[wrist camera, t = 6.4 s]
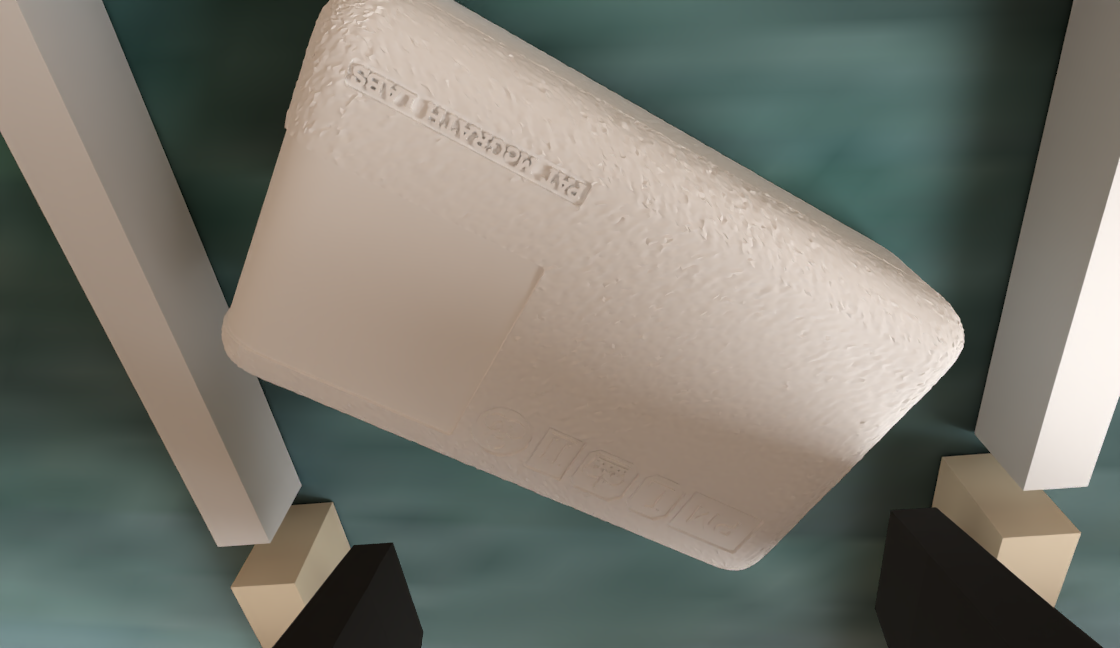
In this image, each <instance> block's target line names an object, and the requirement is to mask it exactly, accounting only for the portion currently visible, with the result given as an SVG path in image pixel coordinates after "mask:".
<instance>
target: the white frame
mask: <svg viewBox="0 0 1120 648" xmlns="http://www.w3.org/2000/svg"><path fill="white" fill-rule="evenodd" d="M0 132H1V134H2V135H3V137H4V139H5V141H6V143H7V145H8V147H9V149H10V151H11V153H12V155H13V156H14V158H15V160H16V162H17V164H18V166H19V168H20V170H21V172H22V174H23V176H24V177H25V179H26V181H27V183H28V185H29V187H30V189H31V191H32V193H33V195H34V197H35V198H36V200H37V202H38V204H39V206H40V208H41V210H42V212H43V214H44V216H45V218H46V219H47V221H48V223H49V225H50V227H51V229H52V231H53V233H54V235H55V237H56V239H57V240H58V242H59V244H60V246H61V248H62V250H63V252H64V254H65V256H66V258H67V260H68V261H69V263H70V265H71V267H72V269H73V271H74V273H75V275H76V277H77V279H78V281H79V282H80V284H81V286H82V288H83V290H84V292H85V294H86V296H87V298H88V300H89V302H90V303H91V305H92V307H93V309H94V311H95V313H96V315H97V317H98V319H99V321H100V323H101V324H102V326H103V328H104V330H105V332H106V334H107V336H108V338H109V340H110V342H111V344H112V345H113V347H114V349H115V351H116V353H117V355H118V357H119V359H120V361H121V363H122V365H123V366H124V368H125V370H126V372H127V374H128V376H129V378H130V380H131V382H132V384H133V386H134V387H135V389H136V391H137V393H138V395H139V397H140V399H141V401H142V403H143V405H144V407H145V408H146V410H147V412H148V414H149V416H150V418H151V420H152V422H153V424H154V426H155V428H156V429H157V431H158V433H159V435H160V437H161V439H162V441H163V443H164V445H165V447H166V448H167V450H168V452H169V454H170V456H171V458H172V460H173V462H174V464H175V466H176V468H177V469H178V471H179V473H180V475H181V477H182V479H183V481H184V483H185V485H186V487H187V489H188V490H189V492H190V494H191V496H192V498H193V500H194V502H195V504H196V506H197V508H198V510H199V511H200V513H201V515H202V517H203V519H204V521H205V523H206V525H207V527H208V529H209V531H210V532H211V534H212V536H213V538H214V540H215V542H216V544H217V546H218V547H223V546H238V545H252V544H267V543H271V541H272V539H273V537H274V536H275V534H276V532H277V530H278V528H279V526H280V525H281V523H282V521H283V519H284V517H285V515H286V514H287V512H288V510H289V508H290V506H291V504H292V502H293V501H294V499H295V497H296V495H297V493H298V491H299V490H300V488H301V486H302V485H301V483H300V480H299V478H298V475H297V473H296V470H295V468H294V466H293V463H292V461H291V458H290V456H289V453H288V451H287V449H286V446H285V444H284V441H283V439H282V436H281V434H280V432H279V429H278V427H277V424H276V422H275V419H274V417H273V415H272V412H271V410H270V407H269V405H268V402H267V400H266V398H265V395H264V393H263V390H262V388H261V385H260V383H259V381H258V378H257V376H254V375H252V374H250V373H248V372H247V371H244V370H243V369H242V368H239V367H238V366H237V364H235V363H234V362H233V361H231V359H230V358H229V357H228V356H227V354H226V351H225V350H224V345H223V341H222V335H221V334H222V330H221V329H222V325H223V319H224V316H225V315H226V313H227V311H228V309H229V308H228V305H227V303H226V300H225V298H224V296H223V293H222V291H221V288H220V286H219V283H218V281H217V279H216V276H215V274H214V271H213V269H212V266H211V264H210V262H209V259H208V257H207V254H206V252H205V249H204V247H203V245H202V242H201V240H200V237H199V235H198V232H197V230H196V228H195V225H194V223H193V220H192V218H191V215H190V213H189V211H188V208H187V206H186V203H185V201H184V198H183V196H182V194H181V191H180V189H179V186H178V184H177V181H176V179H175V177H174V174H173V172H172V169H171V167H170V164H169V162H168V160H167V157H166V155H165V152H164V150H163V147H162V145H161V143H160V140H159V138H158V135H157V133H156V130H155V128H154V126H153V123H152V121H151V118H150V116H149V113H148V111H147V109H146V106H145V104H144V101H143V99H142V96H141V94H140V92H139V89H138V87H137V84H136V82H135V79H134V77H133V75H132V72H131V70H130V67H129V65H128V62H127V60H126V58H125V55H124V53H123V50H122V48H121V45H120V43H119V41H118V38H117V36H116V33H115V31H114V28H113V26H112V23H111V21H110V19H109V16H108V14H107V11H106V9H105V6H104V4H103V2H102V0H0ZM1119 395H1120V0H1074V1H1073V5H1072V9H1071V14H1070V18H1069V22H1068V27H1067V31H1066V35H1065V40H1064V44H1063V49H1062V53H1061V57H1060V62H1059V66H1058V70H1057V75H1056V79H1055V84H1054V88H1053V92H1052V97H1051V101H1050V105H1049V110H1048V114H1047V118H1046V123H1045V127H1044V132H1043V136H1042V140H1041V145H1040V149H1039V153H1038V158H1037V162H1036V167H1035V171H1034V175H1033V180H1032V184H1031V188H1030V193H1029V197H1028V201H1027V206H1026V210H1025V215H1024V219H1023V223H1022V228H1021V232H1020V236H1019V241H1018V245H1017V250H1016V254H1015V258H1014V263H1013V267H1012V271H1011V276H1010V280H1009V284H1008V289H1007V293H1006V298H1005V302H1004V306H1003V311H1002V315H1001V319H1000V324H999V328H998V333H997V337H996V341H995V346H994V350H993V354H992V359H991V363H990V367H989V372H988V376H987V381H986V385H985V389H984V394H983V398H982V402H981V407H980V411H979V416H978V420H977V424H976V429H975V433H974V434H975V435H976V436H977V438H978V439H979V440H980V441H981V442H982V443H983V445H984V446H985V447H986V448H987V449H988V450H989V452H990V453H991V454H992V455H993V456H994V457H995V459H996V460H997V461H998V462H999V463H1000V464H1001V466H1002V467H1003V468H1004V469H1005V470H1006V471H1007V473H1008V474H1009V475H1010V476H1011V477H1012V478H1013V480H1014V481H1015V482H1016V483H1017V484H1018V485H1019V486H1020V488H1021V489H1022V490H1023V491H1029V490H1044V489H1058V488H1072V487H1087V486H1088V484H1089V481H1090V478H1091V475H1092V472H1093V469H1094V466H1095V464H1096V461H1097V458H1098V455H1099V452H1100V449H1101V447H1102V444H1103V441H1104V438H1105V435H1106V432H1107V429H1108V427H1109V424H1110V421H1111V418H1112V415H1113V412H1114V409H1115V407H1116V404H1117V401H1118V398H1119Z"/></svg>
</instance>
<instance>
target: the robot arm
mask: <svg viewBox="0 0 1120 648" xmlns="http://www.w3.org/2000/svg"><path fill="white" fill-rule="evenodd" d="M875 610H876V613H877V616H878V619H879V622H880V624H881V627H882V630H883V633H884V636H885V639H886V642H887V645H888V648H1103V647H1102V646H1100V645H1099V644H1098V643H1097V642H1096V641H1094V640H1093V639H1092V638H1091V637H1089V636H1088V635H1087V634H1086V633H1084V632H1083V631H1082V630H1081V629H1080V628H1078V627H1077V626H1076V625H1075V624H1073V623H1072V622H1071V621H1070V620H1068V619H1067V618H1066V617H1065V616H1064V615H1062V614H1061V613H1060V612H1059V611H1057V610H1056V609H1055V608H1054V607H1053V606H1051V605H1050V604H1049V603H1048V602H1047V601H1045V600H1044V599H1043V598H1042V597H1041V596H1039V595H1038V594H1037V593H1036V592H1035V591H1034V590H1032V589H1031V588H1030V587H1029V586H1028V585H1026V584H1025V583H1024V582H1023V581H1022V580H1021V579H1019V578H1018V577H1017V576H1016V575H1015V574H1014V573H1012V572H1011V571H1010V570H1009V569H1008V568H1006V567H1005V566H1004V565H1003V564H1002V563H1001V562H999V561H998V560H997V559H996V558H995V557H994V556H992V555H991V554H990V553H989V552H988V551H987V550H985V549H984V548H983V547H982V546H981V545H980V544H979V543H977V542H976V541H975V540H974V539H973V538H972V537H970V536H969V535H968V534H967V533H966V532H965V531H963V530H962V529H961V528H960V527H959V526H958V525H956V524H955V523H954V522H953V521H952V520H950V519H949V518H948V517H947V516H946V515H945V514H943V513H942V512H941V511H940V510H939V509H938V508H936V507H933V508H917V509H902V510H891V511H890V518H889V524H888V530H887V536H886V543H885V549H884V555H883V561H882V568H881V574H880V580H879V586H878V593H877V599H876V605H875ZM422 638H423V630H422V627H421V624H420V621H419V618H418V615H417V612H416V609H415V606H414V603H413V601H412V598H411V595H410V592H409V589H408V586H407V583H406V580H405V577H404V574H403V571H402V568H401V565H400V562H399V559H398V556H397V553H396V550H395V547H394V544H393V543H380V544H365V545H354V546H353V547H352V548H351V549H350V550H349V551H348V553H347V554H346V555H345V556H344V558H343V559H342V560H341V561H340V563H339V564H338V565H337V566H336V568H335V569H334V570H333V571H332V573H331V574H330V575H329V576H328V578H327V579H326V580H325V582H324V583H323V584H322V585H321V587H320V588H319V589H318V590H317V592H316V593H315V594H314V596H313V597H312V598H311V599H310V601H309V602H308V603H307V604H306V606H305V607H304V608H303V610H302V611H301V612H300V613H299V615H298V616H297V617H296V618H295V620H294V621H293V622H292V623H291V625H290V626H289V627H288V628H287V630H286V631H285V632H284V633H283V635H282V636H281V637H280V638H279V640H278V641H277V642H276V643H275V644H274V646H273V647H272V648H421V645H422Z"/></svg>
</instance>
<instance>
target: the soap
mask: <svg viewBox="0 0 1120 648" xmlns="http://www.w3.org/2000/svg"><path fill="white" fill-rule="evenodd" d="M285 128H286V129H287V131H286V134H285V137H284V140H283V143H282V146H281V149H280V153H279V156H278V159H277V162H276V165H275V168H274V172H273V175H272V178H271V181H270V184H269V188H268V191H267V194H266V197H265V200H264V203H263V207H262V210H261V213H260V216H259V219H258V222H257V226H256V229H255V232H254V235H253V238H252V241H251V245H250V248H249V251H248V254H247V257H246V260H245V264H244V267H243V270H242V273H241V276H240V279H239V282H238V286H237V289H236V292H235V295H234V298H233V301H232V305H231V307H230V308H229V309H228V311H227V313H226V315H225V316H224V319H223V325H222V329H221V330H222V334H221V335H222V341H223V345H224V350H225V351H226V354H227V356H228V357H229V358H230V359H231V361H233V362H234V363H235V364H237V366H238V367H239V368H242V369H243V370H244V371H247V372H248V373H250V374H252V375H254V376H257V377H259V378H261V379H262V380H265V381H268V382H271V383H273V384H275V385H278V386H280V387H283V388H286V389H287V390H290V391H293V392H295V393H297V394H299V395H302V396H305V397H308V398H310V399H312V400H314V401H317V402H319V403H322V404H324V405H326V406H329V407H331V408H334V409H336V410H338V411H340V412H342V413H346V414H349V415H351V416H353V417H356V418H358V419H359V420H363V421H365V422H367V423H370V424H372V425H374V426H377V427H378V428H381V429H384V430H386V431H388V432H392V433H394V434H395V435H398V436H400V437H403V438H406V439H407V440H410V441H414V442H417V443H418V444H419V445H423V446H425V447H427V448H429V449H432V450H434V451H436V452H439V453H441V454H443V455H447V456H449V457H451V458H454V459H457V460H458V461H461V462H463V463H465V464H466V465H471V466H474V467H476V469H480V470H483V471H485V472H488V473H490V474H493V475H495V476H497V477H500V478H502V479H503V480H507V481H510V482H513V483H515V484H517V485H519V486H521V487H524V488H526V489H529V490H532V491H534V492H535V493H538V494H540V495H542V496H544V497H548V498H551V499H552V500H555V501H558V502H559V503H562V504H565V505H568V506H571V507H573V508H575V509H577V510H580V511H582V512H586V513H587V514H590V515H592V516H594V517H598V518H599V519H601V520H603V521H607V522H610V523H611V524H612V525H616V526H619V527H622V528H624V529H626V530H628V531H631V532H633V533H635V534H638V535H642V536H644V537H645V538H648V539H650V540H653V541H655V542H658V543H660V544H662V545H664V546H667V547H669V548H672V549H674V550H676V551H679V552H681V553H684V554H686V555H689V556H691V557H693V558H696V559H698V560H701V561H704V562H706V563H708V564H711V565H713V566H716V567H718V568H720V569H721V568H722V569H726V570H731V571H732V570H735V571H738V570H742V569H746V568H749V567H750V566H751V565H754V564H755V563H756V562H758V561H759V560H760V559H761V558H763V556H764V555H767V553H769V552H770V550H771V549H772V548H773V547H775V546H776V544H777V543H778V541H780V540H781V539H782V538H783V537H784V536H785V535H786V534H787V533H788V532H789V531H790V530H791V529H792V528H793V527H794V526H795V525H796V524H797V523H799V520H800V519H802V518H803V517H804V516H805V514H806V513H807V512H808V511H809V510H810V509H811V508H812V507H814V506H815V505H816V503H817V502H818V501H820V500H821V499H822V497H823V496H824V495H826V493H827V492H828V491H830V490H831V488H832V487H834V486H835V485H836V483H839V481H840V480H841V479H842V477H844V476H845V475H846V473H848V472H849V471H850V470H851V468H852V467H853V466H854V465H855V464H856V463H857V462H858V461H860V460H861V459H862V458H863V456H864V454H866V453H867V452H868V451H869V450H870V449H871V448H872V447H873V446H874V445H875V444H876V443H877V442H878V441H879V440H880V439H881V438H882V437H883V436H884V435H885V434H886V433H887V432H888V431H889V430H890V429H891V428H892V426H893V425H894V424H896V423H897V422H898V421H899V420H900V419H901V418H902V417H903V416H904V415H905V413H906V412H907V411H908V410H909V409H911V408H912V406H913V405H915V404H916V403H917V402H918V401H919V400H920V399H921V398H922V397H923V396H924V395H925V394H926V393H927V392H928V391H929V390H931V388H932V386H933V385H935V384H936V383H937V382H938V380H939V379H940V378H941V377H942V376H943V375H945V373H946V372H947V371H948V370H949V368H950V367H951V366H952V365H953V364H954V362H955V361H956V360H957V358H958V356H959V354H960V353H961V351H962V350H963V348H964V345H963V344H964V342H965V341H964V336H965V335H964V333H963V332H964V329H963V327H962V324H961V322H960V318H959V316H958V315H957V314H956V313H955V310H953V308H952V307H951V305H950V303H948V302H947V301H946V300H945V299H944V297H941V295H940V294H939V293H937V292H936V291H935V290H934V289H932V288H931V287H930V286H929V285H928V284H927V283H926V282H925V281H923V280H922V279H921V278H920V277H919V276H918V275H917V274H915V273H914V272H913V271H912V270H911V269H910V268H909V267H907V266H906V265H905V264H904V263H903V262H902V261H901V260H900V259H899V258H898V257H897V256H895V255H894V254H893V253H892V252H890V251H889V250H887V249H886V248H885V247H883V246H881V245H879V244H878V243H876V242H874V241H872V240H871V239H869V238H867V237H866V236H864V235H862V234H860V233H859V232H857V231H855V230H853V229H852V228H850V227H848V226H846V225H844V224H843V223H841V222H839V221H838V220H836V219H834V218H832V217H831V216H829V215H827V214H825V213H824V212H822V211H820V210H818V209H817V208H815V207H813V206H812V205H810V204H808V203H806V202H805V201H803V200H801V199H799V198H797V197H796V196H794V195H792V194H791V193H789V192H787V191H785V190H784V189H782V188H780V187H778V186H776V185H774V184H773V183H772V182H769V181H767V180H766V179H764V178H763V177H761V176H759V175H757V174H756V173H755V172H752V171H751V170H749V169H747V168H746V167H744V166H741V165H740V164H738V163H737V162H735V161H733V160H731V159H729V158H728V157H726V156H724V155H722V154H721V153H719V152H717V151H716V150H715V149H713V148H711V147H708V146H706V145H705V144H704V143H702V142H700V141H698V140H696V139H695V138H694V137H691V136H689V135H688V134H686V133H684V132H683V131H681V130H679V129H677V128H676V127H673V126H672V125H670V124H668V123H666V122H665V121H664V120H662V119H660V118H658V117H656V116H654V115H653V114H651V113H649V112H648V111H646V110H644V109H643V108H641V107H639V106H638V105H636V104H634V103H632V102H630V101H629V100H627V99H624V98H623V97H622V96H620V95H618V94H617V93H614V92H613V91H610V90H608V89H607V88H606V87H605V86H602V85H600V84H599V83H597V82H595V81H593V80H591V79H590V78H588V77H586V76H585V75H583V74H582V73H580V72H578V71H576V70H574V69H573V68H571V67H568V66H567V65H565V64H564V63H562V62H560V61H558V60H557V59H555V58H554V57H552V56H550V55H547V54H546V53H545V52H543V51H541V50H539V49H537V48H536V47H534V46H532V45H531V44H528V43H527V42H525V41H524V40H522V39H520V38H518V37H517V36H515V35H513V34H511V33H509V32H508V31H506V30H505V29H503V28H502V27H499V26H497V25H496V24H494V23H492V22H490V21H488V20H487V19H485V18H483V17H482V16H480V15H478V14H477V13H475V12H473V11H471V10H469V9H467V8H466V7H464V6H462V5H460V4H459V3H457V2H455V1H454V0H329V2H328V3H327V4H326V5H325V6H324V7H323V8H322V11H321V13H320V14H319V17H318V19H317V20H316V25H315V26H314V30H313V32H312V36H311V38H310V41H309V45H308V47H307V49H306V55H305V58H304V60H303V65H302V69H301V71H300V74H299V78H298V81H297V82H296V87H295V89H294V92H293V96H292V100H291V103H290V107H289V109H288V111H287V113H286V120H285Z"/></svg>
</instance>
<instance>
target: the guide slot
mask: <svg viewBox="0 0 1120 648" xmlns="http://www.w3.org/2000/svg"><path fill="white" fill-rule="evenodd" d="M933 507H936V508H938V509H939V510H940V511H941V512H942V513H943V514H945V515H946V516H947V517H948V518H949V519H950V520H952V521H953V522H954V523H955V524H956V525H958V526H959V527H960V528H961V529H962V530H963V531H965V532H966V533H967V534H968V535H969V536H970V537H972V538H973V539H974V540H975V541H976V542H977V543H979V544H980V545H981V546H982V547H983V548H984V549H985V550H987V551H988V552H989V553H990V554H991V555H992V556H994V557H995V558H996V559H997V560H998V561H999V562H1001V563H1002V564H1003V565H1004V566H1005V567H1006V568H1008V569H1009V570H1010V571H1011V572H1012V573H1014V574H1015V575H1016V576H1017V577H1018V578H1019V579H1021V580H1022V581H1023V582H1024V583H1025V584H1026V585H1028V586H1029V587H1030V588H1031V589H1032V590H1034V591H1035V592H1036V593H1037V594H1038V595H1039V596H1041V597H1042V598H1043V599H1044V600H1045V601H1047V602H1048V603H1049V604H1050V605H1051V606H1053V607H1055V604H1056V601H1057V598H1058V596H1059V593H1060V590H1061V587H1062V585H1063V582H1064V579H1065V576H1066V573H1067V571H1068V568H1069V565H1070V562H1071V560H1072V557H1073V554H1074V551H1075V548H1076V546H1077V543H1078V540H1079V537H1080V535H1081V532H1080V531H1079V530H1078V529H1077V528H1076V527H1075V526H1074V525H1073V523H1072V522H1071V521H1070V520H1069V519H1068V518H1067V517H1066V516H1065V515H1064V513H1063V512H1062V511H1061V510H1060V509H1059V508H1058V507H1057V506H1056V504H1055V503H1054V502H1053V501H1052V500H1051V499H1050V498H1049V497H1048V496H1047V494H1046V493H1045V492H1044V491H1043V490H1029V491H1023V490H1022V489H1021V488H1020V486H1019V485H1018V484H1017V483H1016V482H1015V481H1014V480H1013V478H1012V477H1011V476H1010V475H1009V474H1008V473H1007V471H1006V470H1005V469H1004V468H1003V467H1002V466H1001V464H1000V463H999V462H998V461H997V460H996V459H995V457H994V456H993V455H992V454H991V453H987V454H974V455H961V456H947V457H942V459H941V464H940V469H939V474H938V479H937V484H936V489H935V494H934V499H933V503H932V508H933ZM350 549H351V548H350V545H349V543H348V540H347V538H346V535H345V533H344V530H343V527H342V525H341V522H340V520H339V517H338V515H337V512H336V509H335V507H334V504H333V502H328V503H315V504H302V505H291V506H290V508H289V510H288V512H287V514H286V515H285V517H284V519H283V521H282V523H281V525H280V526H279V528H278V530H277V532H276V534H275V536H274V537H273V539H272V541H271V543H267V544H255V545H254V547H253V549H252V551H251V552H250V554H249V556H248V558H247V559H246V561H245V563H244V565H243V566H242V568H241V570H240V572H239V573H238V575H237V577H236V579H235V580H234V582H233V584H232V586H231V589H232V591H233V593H234V595H235V597H236V599H237V600H238V602H239V604H240V606H241V608H242V610H243V612H244V614H245V615H246V617H247V619H248V621H249V623H250V625H251V627H252V629H253V630H254V632H255V634H256V636H257V638H258V640H259V642H260V644H261V645H262V647H263V648H272V647H273V646H274V644H275V643H276V642H277V641H278V640H279V638H280V637H281V636H282V635H283V633H284V632H285V631H286V630H287V628H288V627H289V626H290V625H291V623H292V622H293V621H294V620H295V618H296V617H297V616H298V615H299V613H300V612H301V611H302V610H303V608H304V607H305V606H306V604H307V603H308V602H309V601H310V599H311V598H312V597H313V596H314V594H315V593H316V592H317V590H318V589H319V588H320V587H321V585H322V584H323V583H324V582H325V580H326V579H327V578H328V576H329V575H330V574H331V573H332V571H333V570H334V569H335V568H336V566H337V565H338V564H339V563H340V561H341V560H342V559H343V558H344V556H345V555H346V554H347V553H348V551H349V550H350Z"/></svg>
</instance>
